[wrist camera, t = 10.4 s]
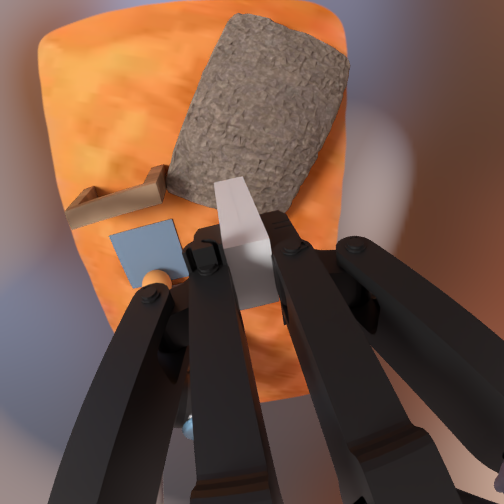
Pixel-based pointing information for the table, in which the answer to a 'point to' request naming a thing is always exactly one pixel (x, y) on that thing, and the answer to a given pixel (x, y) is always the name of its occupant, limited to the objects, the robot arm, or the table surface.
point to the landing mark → (150, 251)
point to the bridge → (117, 200)
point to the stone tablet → (258, 114)
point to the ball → (157, 278)
